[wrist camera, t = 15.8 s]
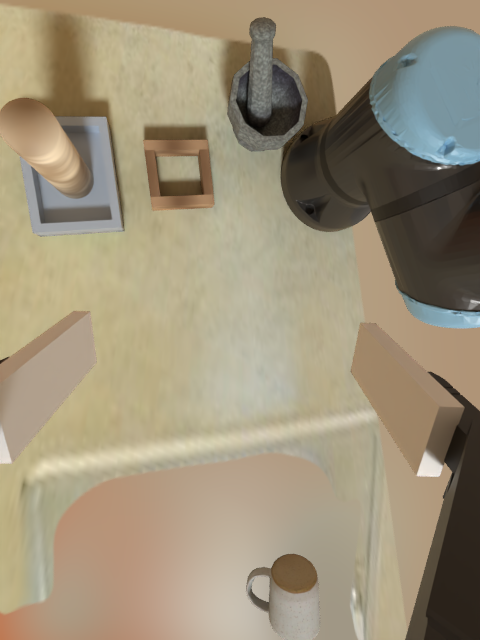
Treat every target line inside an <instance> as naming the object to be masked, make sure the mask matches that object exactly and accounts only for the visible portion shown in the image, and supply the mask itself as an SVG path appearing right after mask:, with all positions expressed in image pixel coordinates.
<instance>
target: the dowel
mask: <svg viewBox="0 0 480 640" xmlns="http://www.w3.org/2000/svg"><path fill="white" fill-rule="evenodd" d="M0 134H1V136H2V138H3V140H4V141H5V142H6V143H7V144H8V145H9V146H10V147H11V148H12V149H13V150H14V151H15V152H16V153H17V154H19V155H20V156H21V157H22V158H23V159H24V160H25V161H26V162H27V163H28V164H30V165H31V166H32V167H33V168H34V169H35V170H36V171H37V172H38V173H39V174H41V175H42V176H43V177H44V178H45V179H46V180H47V181H48V182H49V183H50V184H51V185H53V186H54V187H55V188H56V189H57V190H58V191H59V192H60V193H61V194H63V195H64V196H66V197H69V198H73V199H79V198H83V197H85V196H87V195H88V194H89V193H90V192H91V190H92V188H93V184H94V179H93V175H92V173H91V171H90V170H89V168H88V166H87V165H86V163H85V162H84V160H83V159H82V157H81V156H80V154H79V153H78V151H77V150H76V148H75V147H74V145H73V144H72V142H71V141H70V139H69V138H68V136H67V134H66V133H65V131H64V130H63V128H62V127H61V125H60V124H59V122H58V121H57V119H56V118H55V116H54V115H53V113H52V112H51V111H50V110H49V109H48V108H47V107H46V106H45V105H44V104H42V103H40V102H38V101H36V100H33V99H29V98H18V99H14V100H12V101H10V102H8V103H7V104H6V105H5V106H4V107H3V108H2V109H1V111H0Z"/></svg>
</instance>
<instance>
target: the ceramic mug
mask: <svg viewBox="0 0 480 640" xmlns="http://www.w3.org/2000/svg"><path fill="white" fill-rule="evenodd" d="M258 576H265V577H270V594H269V602H266V601H263V600H261V599H259V598H258V597H256V596H255V595H254V594H253V592H252V589H251V587H252V581H253V580H254V578H255V577H258ZM246 592H247V597H248V599H249V600H250V602H251V603H252V604H253V605H254V606H255V607H257V608H258V609H260V610H262V611H264V612H267V613H269V620H270V623H271V626H272V628H273V630H274V631H275V632H276V633H277V634H278V636H280V637H281V638H282V639H284V640H312V639H314V638H315V637H316V635H317V634H318V632H319V629H320V609H319V608H320V606H319V583H318V577H317V573H316V570H315V568H314V566H313V565H312V563H311V562H310V561H308V560H307V559H306V558H304V557H302V556H299V555H296V554H287V555H283V556H281V557H280V558H278V559H277V560H276V561H275V562H274V564H273V566H272V568H271V569H270V568H265V567H262V568H256V569H254V570H253V571H252V572H251V573H250V575H249V576H248V580H247V586H246Z"/></svg>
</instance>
